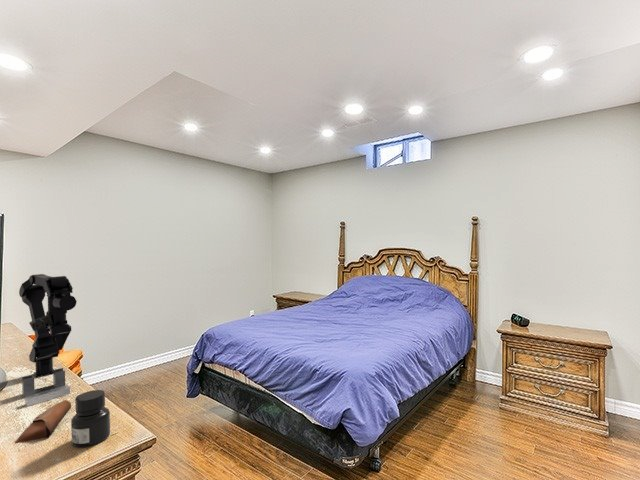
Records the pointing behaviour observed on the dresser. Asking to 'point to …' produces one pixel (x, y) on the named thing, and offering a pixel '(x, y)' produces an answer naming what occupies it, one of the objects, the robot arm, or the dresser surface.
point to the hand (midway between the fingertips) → (58, 347)
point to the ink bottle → (90, 419)
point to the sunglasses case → (45, 422)
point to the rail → (47, 395)
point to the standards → (30, 389)
